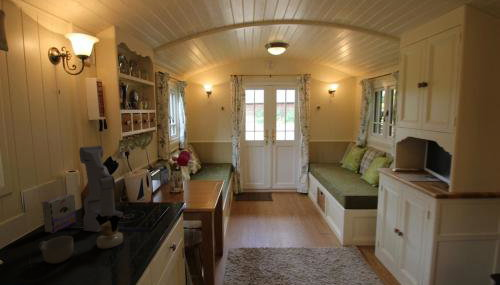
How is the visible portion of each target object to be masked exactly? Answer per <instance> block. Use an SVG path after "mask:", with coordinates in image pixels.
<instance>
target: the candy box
mask: <svg viewBox="0 0 500 285" xmlns="http://www.w3.org/2000/svg"><path fill="white" fill-rule="evenodd" d="M75 202H76V200H75V194H71V193H70V194H68V193H65V194H63V195H60V196H57V197H54V198H50V199H47V200H44V201H42V202H41V205H42V213H43V215H42V216H43V225H44V232H45V233H50V234H54V233H56V232H59V231H61V230H63V229H66V228H68V227H70V226H72V225H74V224H76V223H77V221H78V220H77V219H78V218H77V213H76V212H77V211H76V203H75ZM65 227H66V228H65Z"/></svg>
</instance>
